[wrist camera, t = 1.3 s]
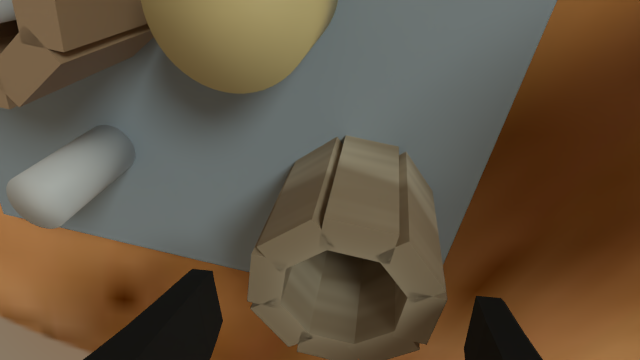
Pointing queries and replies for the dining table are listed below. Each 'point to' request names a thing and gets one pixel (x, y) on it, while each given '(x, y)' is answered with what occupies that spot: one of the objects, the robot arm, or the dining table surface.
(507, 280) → the dining table surface
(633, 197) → the dining table surface
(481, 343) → the robot arm
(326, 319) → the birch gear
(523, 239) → the dining table surface
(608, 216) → the dining table surface
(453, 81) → the gear board
